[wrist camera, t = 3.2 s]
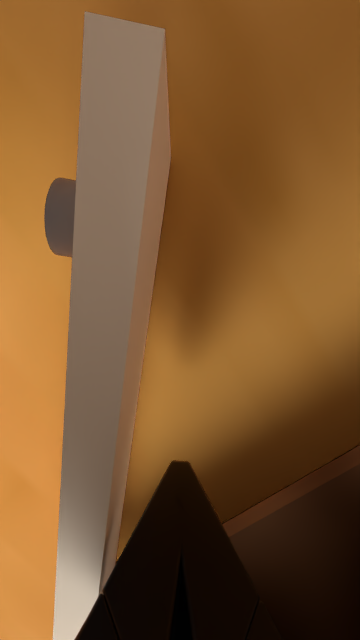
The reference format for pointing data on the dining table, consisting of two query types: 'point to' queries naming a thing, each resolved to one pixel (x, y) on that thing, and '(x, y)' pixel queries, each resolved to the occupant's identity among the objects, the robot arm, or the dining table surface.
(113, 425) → the door
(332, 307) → the dining table surface
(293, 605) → the walnut box
